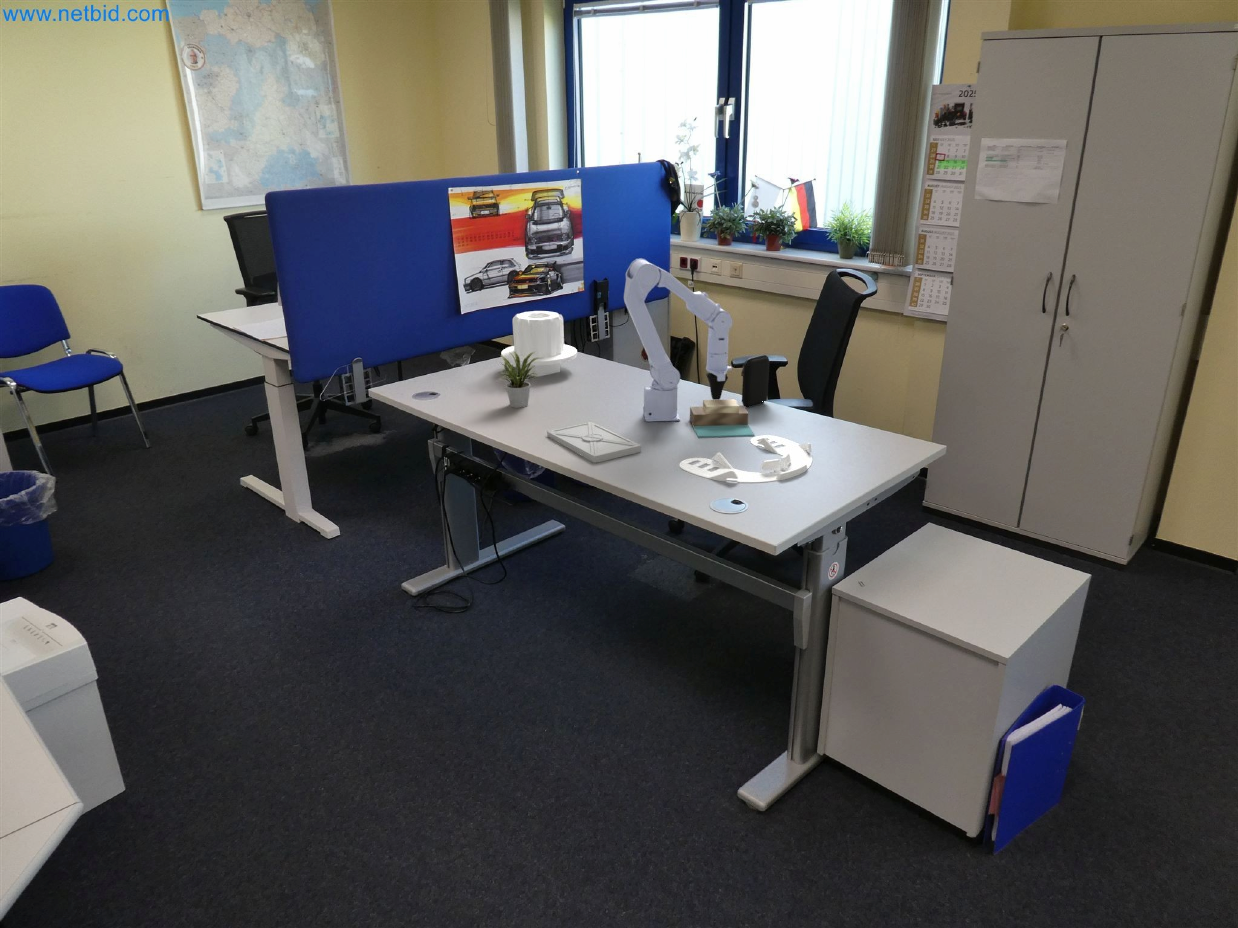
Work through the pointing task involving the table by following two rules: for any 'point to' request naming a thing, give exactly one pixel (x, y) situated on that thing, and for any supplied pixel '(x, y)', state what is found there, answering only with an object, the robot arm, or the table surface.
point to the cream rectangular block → (720, 406)
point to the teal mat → (723, 431)
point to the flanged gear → (539, 342)
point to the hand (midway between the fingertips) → (715, 398)
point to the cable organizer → (790, 455)
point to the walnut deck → (718, 417)
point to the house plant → (518, 381)
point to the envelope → (594, 441)
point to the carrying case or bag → (755, 381)
